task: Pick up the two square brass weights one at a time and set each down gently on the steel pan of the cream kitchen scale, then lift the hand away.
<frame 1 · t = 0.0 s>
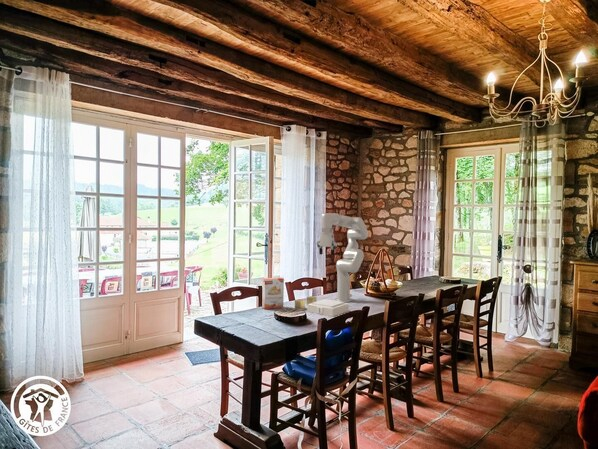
hand: (326, 254, 292), 37 cm above the table, tool pointing down, fingers open, 9 cm apart
cracker box: (272, 308, 285), on the table
kitchen scale: (328, 311, 276), on the table
brass weight 2: (299, 308, 284), on the table
brass weight 1: (311, 305, 295), on the table
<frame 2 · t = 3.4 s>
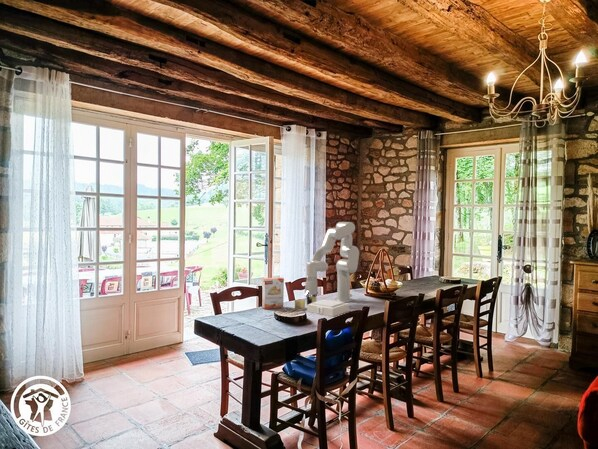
hand: (311, 303, 295), 1 cm above the table, tool pointing down, fingers closed on brass weight 1, 5 cm apart
brass weight 1: (311, 305, 295), on the table, touching gripper
everything else where it was.
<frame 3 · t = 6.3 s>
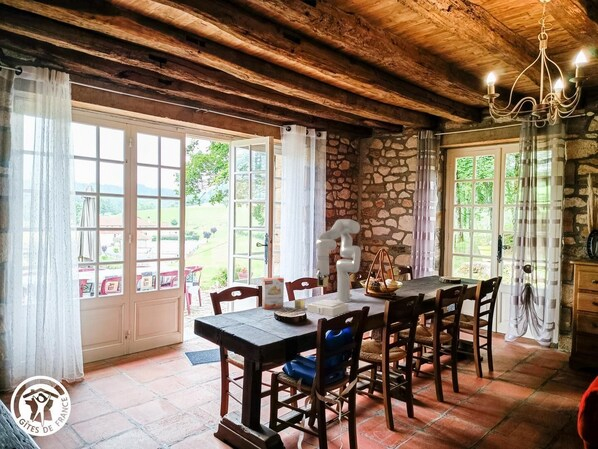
hand: (322, 284, 278), 18 cm above the table, tool pointing down, fingers closed on brass weight 1, 5 cm apart
brass weight 1: (322, 286, 278), point 17 cm above the table, touching gripper
everything else where it was.
when the fingers open (7 cm above the table, at t = 9.1 s): brass weight 1 stays where it is, resting on kitchen scale.
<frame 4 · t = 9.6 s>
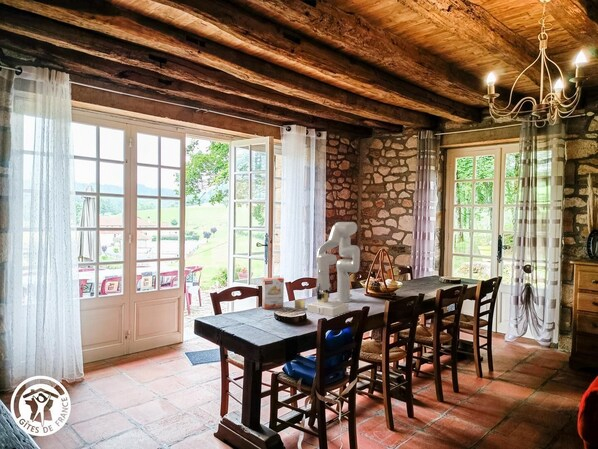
hand: (323, 298, 278), 8 cm above the table, tool pointing down, fingers open, 9 cm apart
brass weight 1: (323, 301, 278), point 6 cm above the table, touching kitchen scale
everything else where it was.
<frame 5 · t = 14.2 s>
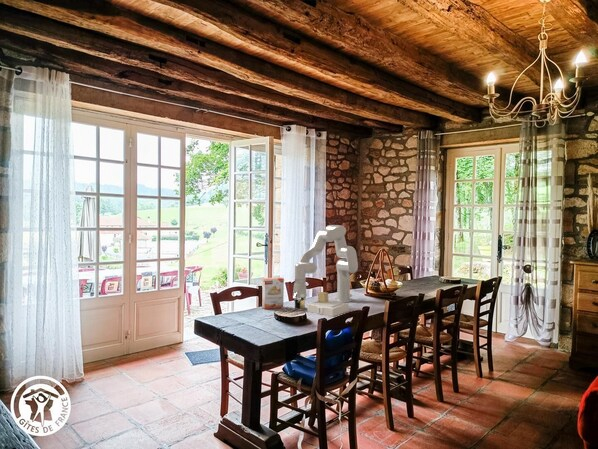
hand: (299, 307, 284), 1 cm above the table, tool pointing down, fingers closed on brass weight 2, 5 cm apart
brass weight 2: (299, 308, 284), on the table, touching gripper
everything else where it was.
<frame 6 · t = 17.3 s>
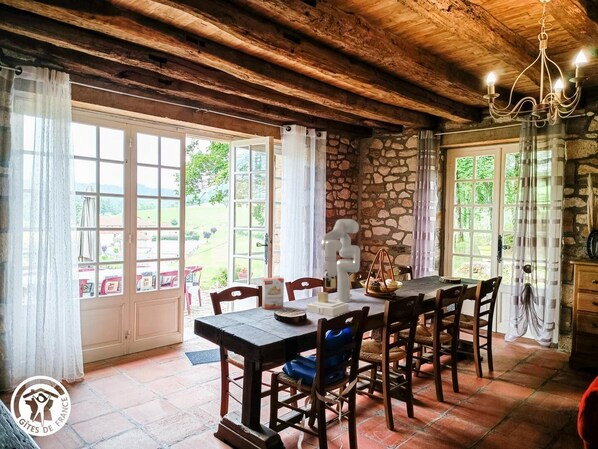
hand: (330, 286, 274), 17 cm above the table, tool pointing down, fingers closed on brass weight 2, 5 cm apart
brass weight 2: (330, 287, 274), point 16 cm above the table, touching gripper
everything else where it was.
when the fingers open (7 cm above the table, at t = 20.3 s): brass weight 2 stays where it is, resting on kitchen scale.
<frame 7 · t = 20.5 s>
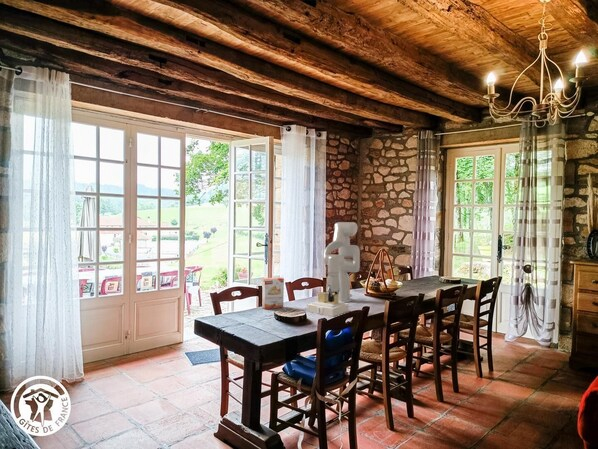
hand: (333, 300, 273), 8 cm above the table, tool pointing down, fingers open, 6 cm apart
brass weight 2: (333, 303, 273), point 6 cm above the table, touching kitchen scale
everything else where it was.
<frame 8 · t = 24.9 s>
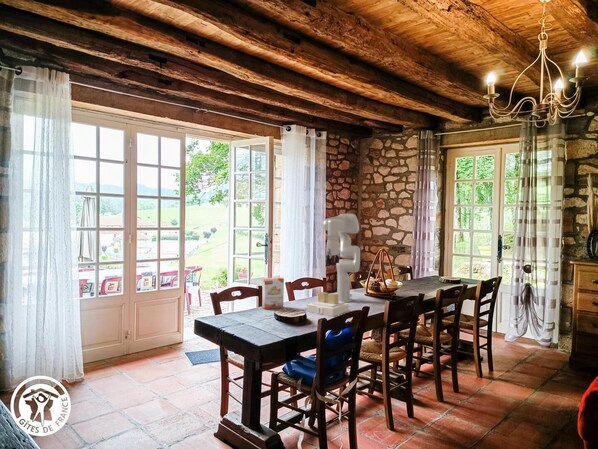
hand: (333, 263, 274), 32 cm above the table, tool pointing down, fingers open, 9 cm apart
nothing on the table moved.
at the end: brass weight 1 inside the target area on the kitchen scale (4.1 cm from its centre), point 6.0 cm above the kitchen scale's base; brass weight 2 inside the target area on the kitchen scale (4.0 cm from its centre), point 6.0 cm above the kitchen scale's base; the gripper is holding nothing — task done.
